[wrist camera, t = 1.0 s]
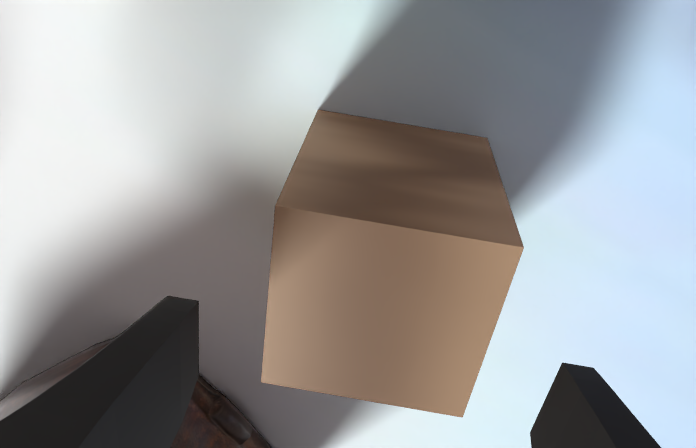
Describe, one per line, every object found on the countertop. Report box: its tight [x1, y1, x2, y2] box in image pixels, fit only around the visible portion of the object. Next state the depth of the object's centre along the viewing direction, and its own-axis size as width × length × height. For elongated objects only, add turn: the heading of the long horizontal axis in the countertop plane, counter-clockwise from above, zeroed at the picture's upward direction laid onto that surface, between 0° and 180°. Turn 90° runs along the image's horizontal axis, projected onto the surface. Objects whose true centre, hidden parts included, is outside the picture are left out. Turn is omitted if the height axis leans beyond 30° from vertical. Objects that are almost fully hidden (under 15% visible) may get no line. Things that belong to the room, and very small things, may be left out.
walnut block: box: [261, 110, 524, 417], centre depth 15 cm, size 5×5×6 cm
